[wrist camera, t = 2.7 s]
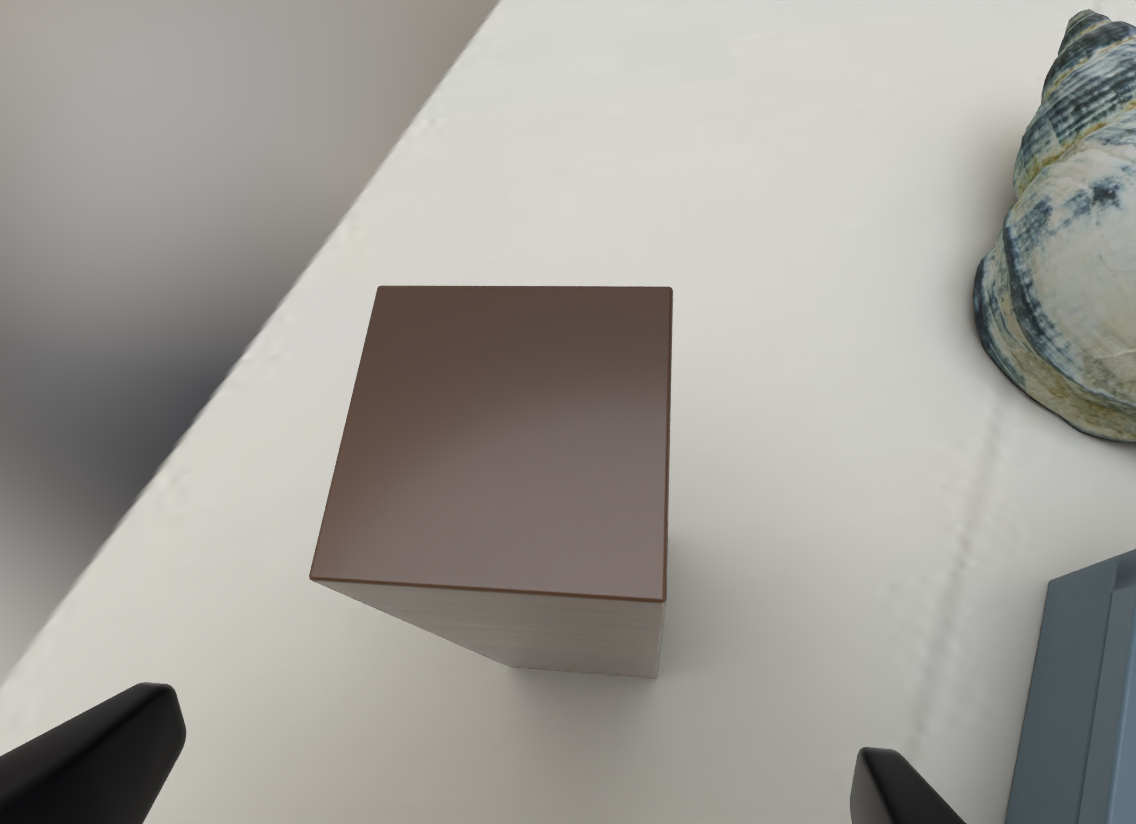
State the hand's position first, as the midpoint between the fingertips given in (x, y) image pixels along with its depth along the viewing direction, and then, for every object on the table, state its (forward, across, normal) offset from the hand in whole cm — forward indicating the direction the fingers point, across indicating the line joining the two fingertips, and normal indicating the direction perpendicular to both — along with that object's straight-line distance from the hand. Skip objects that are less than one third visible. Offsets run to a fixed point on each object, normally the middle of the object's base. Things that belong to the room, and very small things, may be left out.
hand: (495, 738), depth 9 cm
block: (+10, 0, +5) cm, 11 cm away
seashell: (+18, -16, -3) cm, 24 cm away
